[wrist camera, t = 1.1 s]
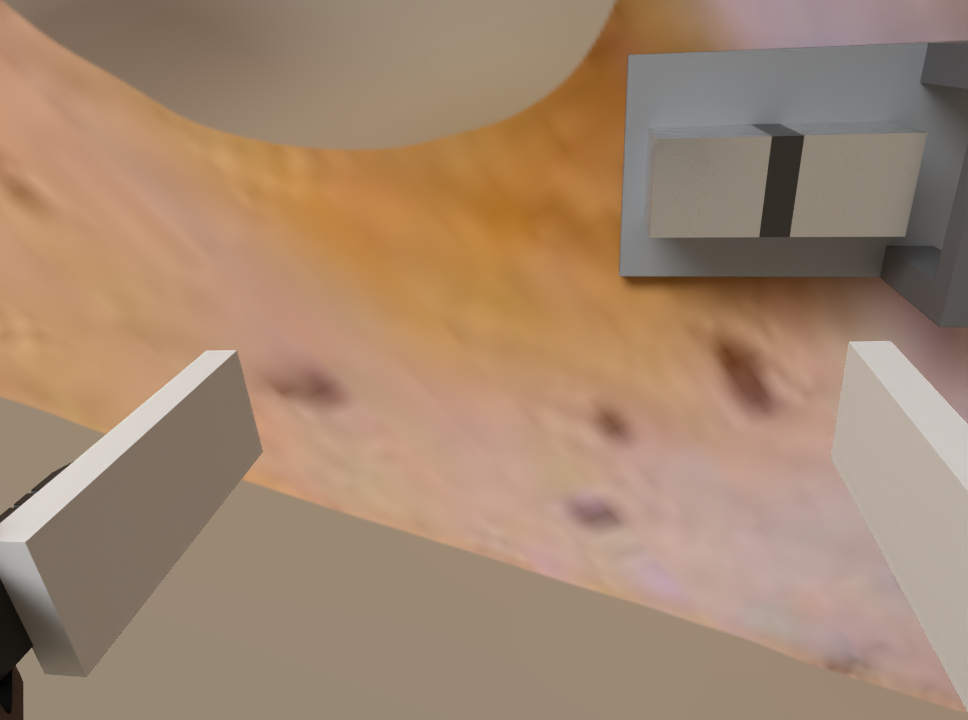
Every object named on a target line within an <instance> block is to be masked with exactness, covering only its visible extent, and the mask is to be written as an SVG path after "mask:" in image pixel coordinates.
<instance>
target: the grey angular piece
mask: <svg viewBox="0 0 968 720" xmlns="http://www.w3.org/2000/svg"><path fill="white" fill-rule="evenodd" d="M861 121H890V122H893V123H897V124H900V125H903V126H907V127H910V128H914V129H917V130H921V131H924V132H928V133H927V138H926V143H925V147H924V152H923V157H922V161H921V166H920V170H919V175H918V180H917V184H916V189H915V193H914V198H913V203H912V207H911V212H910V217H909V221H908V226H907V230H906V235H905V237H701V238H650V236H649V232H648V229H647V225H646V222H645V219H644V200H645V182H646V164H647V146H648V128H649V127H675V126H712V125H749V124H787V123H824V122H861ZM619 275H620V276H702V277H880V278H882V279H883V280H884V281H885V282H886V283H888V284H889V285H890V286H891V287H892V288H894V289H895V290H896V291H897V292H898V293H899V294H901V295H902V296H903V297H904V298H905V299H907V300H908V301H909V302H910V303H911V304H913V305H914V306H915V307H916V308H917V309H919V310H920V311H921V312H922V313H923V314H925V315H926V316H927V317H928V318H929V319H931V320H932V321H933V322H934V323H935V324H937V325H938V326H939V327H968V41H949V42H925V43H901V44H877V45H853V46H829V47H805V48H782V49H758V50H734V51H710V52H686V53H662V54H638V55H628V68H627V92H626V116H625V140H624V164H623V188H622V213H621V237H620V261H619Z"/></svg>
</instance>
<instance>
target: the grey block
mask: <svg viewBox="0 0 968 720" xmlns="http://www.w3.org/2000/svg"><path fill="white" fill-rule="evenodd" d="M927 133H928V132H924V131H921V130H917V129H914V128H910V127H907V126H903V125H900V124H897V123H893V122H890V121H861V122H824V123H787V124H749V125H712V126H675V127H649V128H648V146H647V164H646V182H645V200H644V219H645V222H646V225H647V229H648V232H649V236H650V238H701V237H905V235H906V230H907V226H908V221H909V217H910V212H911V207H912V203H913V198H914V193H915V189H916V184H917V180H918V175H919V170H920V166H921V161H922V157H923V152H924V147H925V143H926V138H927Z"/></svg>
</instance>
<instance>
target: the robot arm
mask: <svg viewBox="0 0 968 720" xmlns="http://www.w3.org/2000/svg"><path fill="white" fill-rule="evenodd" d="M262 452H263V450H262V446H261V442H260V438H259V434H258V431H257V427H256V423H255V419H254V415H253V411H252V407H251V403H250V399H249V395H248V391H247V388H246V384H245V380H244V376H243V372H242V368H241V364H240V360H239V356H238V352H237V350H222V351H205V352H204V353H203V354H202V355H201V356H199V357H198V358H197V359H196V360H195V361H193V362H192V363H191V364H190V365H189V366H187V367H186V368H185V369H184V370H183V371H182V372H180V373H179V374H178V375H177V376H176V377H174V378H173V379H172V380H171V381H170V382H168V383H167V384H166V385H165V386H164V387H162V388H161V389H160V390H159V391H158V392H156V393H155V394H154V395H153V396H152V397H150V398H149V399H148V400H147V401H146V402H144V403H143V404H142V405H141V406H140V407H138V408H137V409H136V410H135V411H134V412H132V413H131V414H130V415H129V416H128V417H127V418H125V419H124V420H123V421H122V422H121V423H119V424H118V425H117V426H116V427H115V428H113V429H112V430H111V431H110V432H109V433H107V434H106V435H105V436H104V437H103V438H101V439H100V440H99V441H98V442H97V443H95V444H94V445H93V446H92V447H91V448H89V449H88V450H87V451H86V452H85V453H83V454H82V455H81V456H80V457H79V458H78V459H76V460H75V461H73V462H71V463H69V464H68V465H66V466H64V467H62V468H60V469H58V470H57V471H55V472H53V473H51V474H50V475H49V476H48V477H47V478H46V479H44V480H43V481H42V482H40V483H39V484H38V485H37V486H36V487H34V488H33V489H32V491H31V494H30V493H29V494H26V495H25V496H23V497H22V498H21V499H20V500H19V501H17V502H16V503H15V504H14V508H9V509H8V510H6V511H5V512H4V513H3V514H2V515H0V720H23V681H22V678H21V675H20V673H19V671H18V669H17V667H16V664H17V663H18V662H19V661H20V660H21V658H22V657H23V656H24V655H25V654H26V653H27V652H28V651H29V650H30V649H31V648H33V650H34V653H35V654H36V657H37V659H38V661H39V663H40V665H41V667H42V669H43V671H44V673H45V674H52V675H66V676H80V677H87V676H88V675H89V674H90V672H91V671H92V670H93V668H94V667H95V666H96V665H97V663H98V662H99V661H100V659H101V658H102V657H103V656H104V654H105V653H106V652H107V650H108V649H109V648H110V647H111V645H112V644H113V643H114V642H115V640H116V639H117V638H118V636H119V635H120V634H121V633H122V631H123V630H124V629H125V627H126V626H127V625H128V624H129V622H130V621H131V620H132V618H133V617H134V616H135V615H136V613H137V612H138V611H139V610H140V608H141V607H142V606H143V604H144V603H145V602H146V601H147V599H148V598H149V597H150V595H151V594H152V593H153V592H154V590H155V589H156V587H157V586H158V585H159V584H160V583H161V581H162V580H163V579H164V578H165V576H166V575H167V574H168V572H169V571H170V570H171V569H172V567H173V566H174V564H175V563H176V562H177V561H178V560H179V558H180V557H181V556H182V554H183V553H184V552H185V551H186V549H187V548H188V547H189V546H190V544H191V543H192V542H193V540H194V539H195V538H196V536H197V535H198V534H199V533H200V531H201V530H202V529H203V528H204V526H205V525H206V524H207V522H208V521H209V520H210V519H211V517H212V516H213V515H214V513H215V512H216V511H217V510H218V508H219V507H220V506H221V505H222V503H223V502H224V501H225V499H226V498H227V497H228V496H229V494H230V493H231V491H232V490H233V489H234V488H235V487H236V485H237V484H238V483H239V482H240V480H241V479H242V478H243V476H244V475H245V474H246V473H247V471H248V470H249V469H250V467H251V466H252V465H253V464H254V462H255V461H256V460H257V458H258V457H259V456H260V455H261V453H262ZM831 460H832V462H833V464H834V465H835V467H836V469H837V471H838V473H839V475H840V477H841V478H842V480H843V482H844V484H845V486H846V488H847V489H848V491H849V493H850V495H851V497H852V499H853V501H854V502H855V504H856V506H857V508H858V510H859V512H860V514H861V515H862V517H863V519H864V521H865V523H866V525H867V527H868V528H869V530H870V532H871V534H872V536H873V538H874V540H875V541H876V543H877V545H878V547H879V549H880V551H881V553H882V554H883V556H884V558H885V560H886V562H887V564H888V566H889V567H890V569H891V571H892V573H893V575H894V577H895V578H896V580H897V582H898V584H899V586H900V588H901V590H902V591H903V593H904V595H905V597H906V599H907V601H908V603H909V604H910V606H911V608H912V610H913V612H914V614H915V616H916V617H917V619H918V621H919V623H920V625H921V627H922V629H923V630H924V632H925V634H926V636H927V638H928V640H929V642H930V643H931V645H932V647H933V649H934V651H935V653H936V655H937V656H938V658H939V660H940V662H941V664H942V666H943V667H944V669H945V671H946V673H947V675H948V677H949V679H950V680H951V682H952V684H953V686H954V688H955V690H956V692H957V693H958V695H959V697H960V699H961V701H962V703H963V705H964V706H965V708H966V710H967V712H968V424H967V423H966V422H965V421H964V420H963V418H962V417H961V416H960V415H959V414H958V413H957V412H956V411H955V410H954V409H953V408H952V407H951V406H950V404H949V403H948V402H947V401H946V400H945V399H944V398H943V397H942V396H941V395H940V394H939V393H938V392H937V390H936V389H935V388H934V387H933V386H932V385H931V384H930V383H929V382H928V381H927V380H926V379H925V378H924V376H923V375H922V374H921V373H920V372H919V371H918V370H917V369H916V368H915V367H914V366H913V365H912V364H911V362H910V361H909V360H908V359H907V358H906V357H905V356H904V355H903V354H902V353H901V352H900V351H899V350H898V348H897V347H896V346H895V345H894V344H893V343H892V342H891V341H857V342H849V344H848V351H847V357H846V363H845V370H844V376H843V383H842V389H841V395H840V402H839V408H838V415H837V421H836V428H835V434H834V440H833V447H832V453H831Z"/></svg>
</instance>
